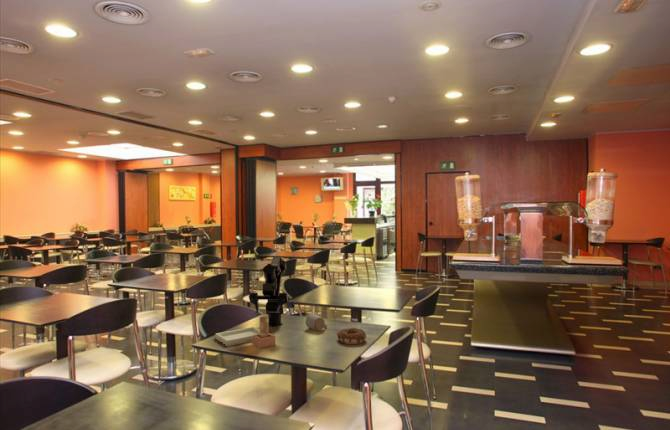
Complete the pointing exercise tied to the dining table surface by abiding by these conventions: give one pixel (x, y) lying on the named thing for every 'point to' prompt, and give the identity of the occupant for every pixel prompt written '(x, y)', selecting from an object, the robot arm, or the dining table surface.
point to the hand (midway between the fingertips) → (266, 312)
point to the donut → (351, 336)
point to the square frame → (264, 340)
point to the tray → (237, 336)
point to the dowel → (264, 326)
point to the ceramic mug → (315, 322)
